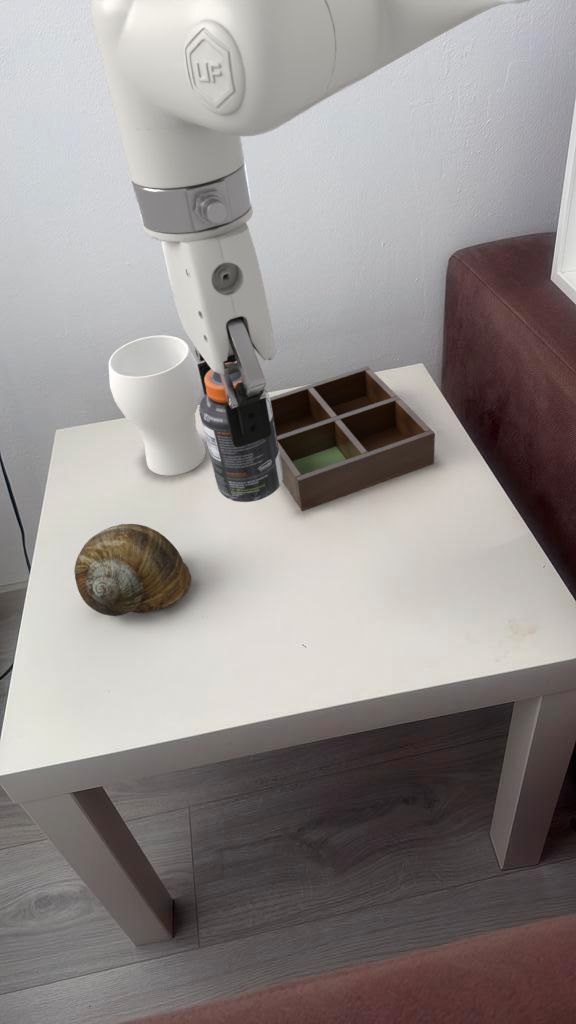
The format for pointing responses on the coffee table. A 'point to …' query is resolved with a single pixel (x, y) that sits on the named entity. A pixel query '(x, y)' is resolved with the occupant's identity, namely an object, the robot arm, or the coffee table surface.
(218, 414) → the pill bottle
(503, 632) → the coffee table surface
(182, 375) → the cup
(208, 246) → the robot arm
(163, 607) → the seashell
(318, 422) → the compartment tray
